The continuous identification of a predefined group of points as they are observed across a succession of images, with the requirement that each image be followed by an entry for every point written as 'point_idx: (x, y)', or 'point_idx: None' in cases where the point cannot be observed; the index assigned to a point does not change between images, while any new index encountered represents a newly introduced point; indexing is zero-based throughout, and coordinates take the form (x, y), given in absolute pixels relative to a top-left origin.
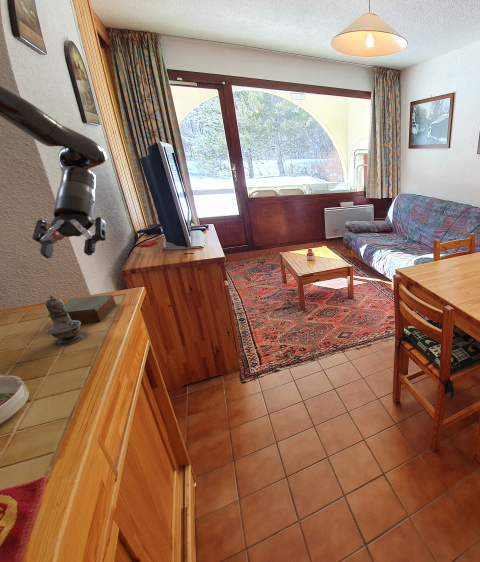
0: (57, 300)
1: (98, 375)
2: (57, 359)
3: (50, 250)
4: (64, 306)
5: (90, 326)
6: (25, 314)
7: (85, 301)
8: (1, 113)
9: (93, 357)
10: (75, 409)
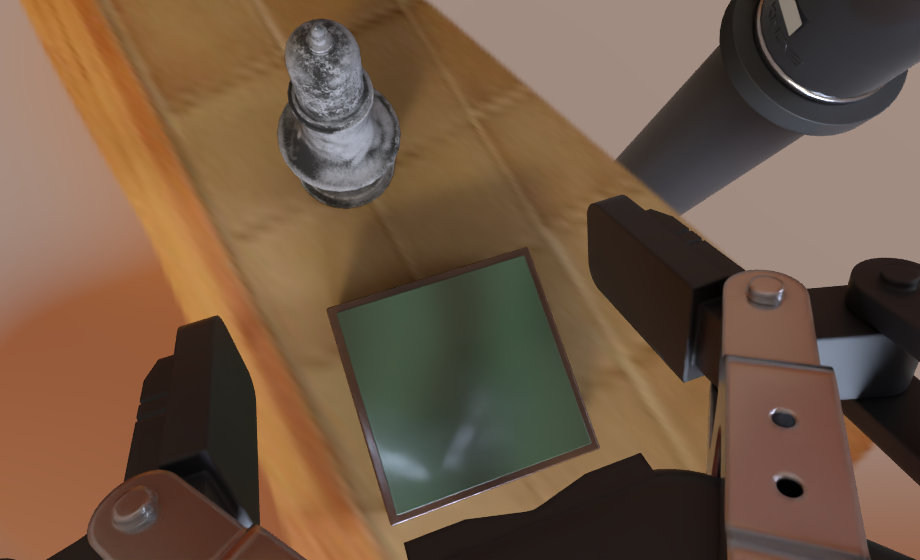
0: (290, 45)
1: None
2: (271, 29)
3: (633, 298)
4: (299, 98)
5: (345, 270)
6: None
7: (473, 407)
8: None
9: (133, 37)
10: None
